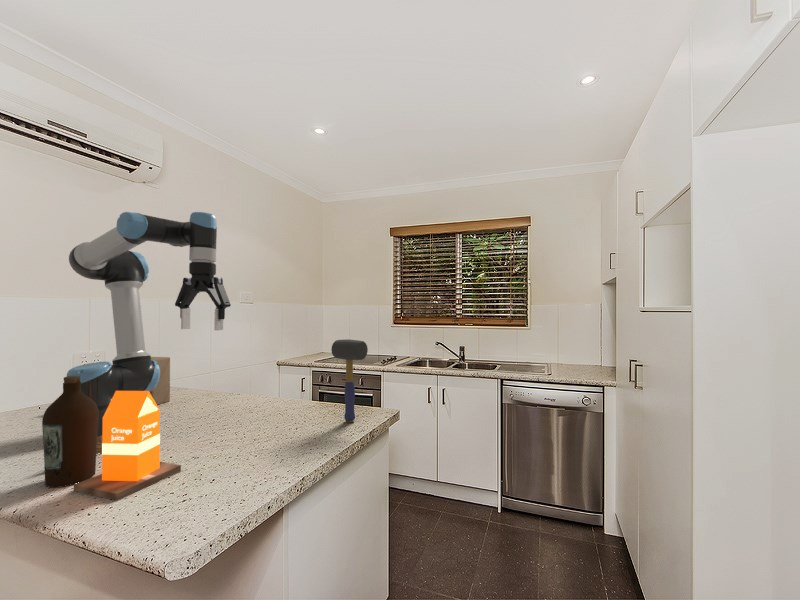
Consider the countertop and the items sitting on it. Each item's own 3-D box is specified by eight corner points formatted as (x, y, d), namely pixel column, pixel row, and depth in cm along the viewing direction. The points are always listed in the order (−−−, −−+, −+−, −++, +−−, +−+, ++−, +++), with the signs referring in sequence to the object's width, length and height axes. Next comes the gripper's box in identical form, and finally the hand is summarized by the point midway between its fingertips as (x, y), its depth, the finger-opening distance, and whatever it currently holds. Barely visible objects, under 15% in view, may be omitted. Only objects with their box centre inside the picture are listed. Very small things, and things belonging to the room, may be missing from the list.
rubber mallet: (329, 421, 140) (329, 339, 141) (342, 416, 147) (342, 338, 147) (357, 427, 134) (356, 340, 135) (369, 421, 140) (369, 339, 141)
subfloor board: (73, 491, 88) (73, 484, 88) (141, 464, 103) (141, 458, 103) (116, 500, 83) (116, 493, 83) (180, 471, 98) (180, 464, 98)
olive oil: (81, 467, 101) (82, 372, 102) (108, 473, 97) (109, 374, 98) (31, 484, 91) (32, 379, 92) (58, 492, 87) (59, 381, 88)
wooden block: (152, 407, 164) (152, 360, 164) (132, 406, 166) (132, 359, 166) (170, 401, 174) (170, 357, 174) (151, 400, 176) (151, 356, 176)
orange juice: (126, 466, 97) (127, 387, 98) (160, 467, 97) (160, 387, 97) (100, 480, 90) (101, 394, 90) (137, 481, 89) (137, 394, 89)
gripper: (243, 262, 121) (242, 330, 121) (183, 264, 129) (182, 327, 129) (224, 259, 114) (223, 331, 114) (163, 262, 122) (161, 329, 122)
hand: (201, 329), depth 121 cm, fingers open, 13 cm apart
